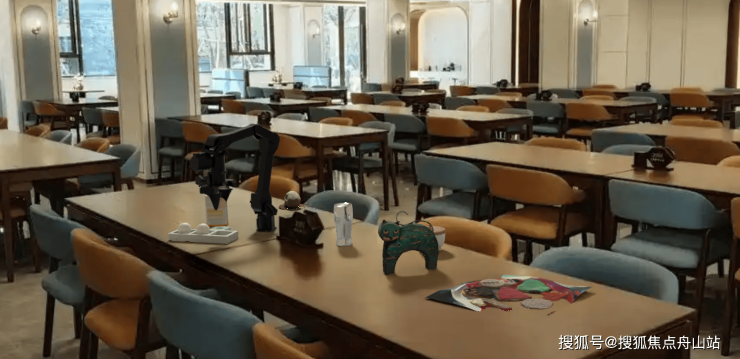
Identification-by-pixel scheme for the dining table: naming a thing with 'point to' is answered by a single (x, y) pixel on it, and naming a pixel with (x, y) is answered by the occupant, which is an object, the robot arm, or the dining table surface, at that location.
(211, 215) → the supplement box
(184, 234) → the carton
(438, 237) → the lidded jar
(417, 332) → the dining table surface
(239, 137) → the robot arm
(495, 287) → the platter
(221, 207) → the brown egg
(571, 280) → the dining table surface
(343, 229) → the beer glass
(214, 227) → the egg stand
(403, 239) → the ceramic cat
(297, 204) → the skull
